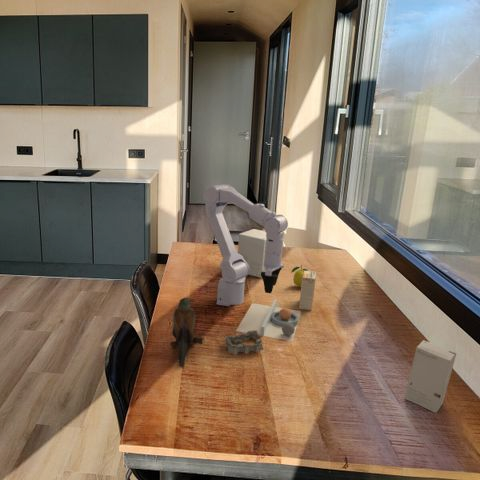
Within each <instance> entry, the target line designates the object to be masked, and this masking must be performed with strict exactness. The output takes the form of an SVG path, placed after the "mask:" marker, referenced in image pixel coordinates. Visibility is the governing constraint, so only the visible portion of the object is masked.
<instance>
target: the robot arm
mask: <svg viewBox="0 0 480 480" xmlns="http://www.w3.org/2000/svg"><path fill="white" fill-rule="evenodd" d="M202 198H203V200H204V204H205V214H206V217H207V219H208V222H209V225H210V226H211V227H210V228H211V229H212V232H213V235H214V238H215V241H216V242H217V245H218V247H219V248H218V249H219V251H220V254H221V256H222V259H221V262H220V263H219V266H220V269H221V276H222V277H221V278H219V281H218V285H217V296H216V297H217V299H216V305H218V306H225V307H230V306H236V305H241V304H243V303H244V298H245V286H246V285H245V284H246V277H247V276H248V275H249V265H248V264H247V263H246V261H245V260H244V258H243V256H242V255H240V254H239V253H238V250H237V249H236V245H235V243H234V241H233V237H232V235H231V233H230V230H229V227H228V225H227V222H226V220H225V217H224V213H223V211H224V209H225V207H226V206H227V205H228V203H231V204H233V205H235V206H237V207H238V208H240V209H242V210H243V211H245V212H247V213H248V217H249V218H250V220H251V219H252V220H253V221H254V222H256V223H257V224H258V225H260V226H262V227H263V229H264V231H265V232H266V248H265V260H264V267H265V269H266V270H265V272H261V277H262V278H261V279H262V281H263V282H262V283H263V287H264V293H265V294H272V292H273V289H274V286H276V285H277V282H278V279H279V278H278V277H279V275H280V273H281V270H282V269H283V268H285V263H284V264H283V263H282V258H283V248H284V238H285V231H286V230H287V228H288V227H289V225H288V224H289V222H288V219H287V218H286V217H285V216H284V215H283V214H276V212H275V211H272V210H270V209H268V208H266V207H265V204H263V203H253V202H252V201H250V200H249V199H248V198H246V196H244V195H242V194H241V193H239V192H238V191H237V190H236V188H235V187H233V186H231V185H230V184H228V183H223V184H218V185H209V186H207V187H206V188H205V190H204V192H203V194H202Z"/></svg>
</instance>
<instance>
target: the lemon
mask: <svg viewBox="0 0 480 480" xmlns="http://www.w3.org/2000/svg"><path fill="white" fill-rule="evenodd" d="M298 269H299V270H298ZM304 271H309V270H308V269H306V268H303V264H301V265H300V266H295V267H293V268H292V270H291V272H290V273H294V272H295V273H294V275H293V279H292V280H293V281H292V282H293V284H294V285H295V286H297V287H298V288H301V285H302V277H303V272H304Z"/></svg>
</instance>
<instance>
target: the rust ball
mask: <svg viewBox="0 0 480 480" xmlns="http://www.w3.org/2000/svg"><path fill="white" fill-rule="evenodd" d="M282 308H283V309H281V310H280V313H279V315H280V318H281V319H283V320H288V319H289V318H290V317H291V311H290V310H289V309H290V308H287V307H282Z"/></svg>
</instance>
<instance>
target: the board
mask: <svg viewBox="0 0 480 480" xmlns="http://www.w3.org/2000/svg"><path fill="white" fill-rule="evenodd" d="M270 308H271V305H266V304H261V303H255V302H254V303H253V302H252V303H251V304H250V307H249V308H248V310H247V311H246V313H245V315H244V316H243V318H242V320H241V321H240V323H239V325H238V326H237V328H236V329H235V332H239V333H247V332H248V331H253V330H254V331H255V330H257V332H258V334H259V337H260V336H261V326H262V324H263V322H264V320H265V318H266V316H267V314H268V312H269V310H270ZM283 308H284V307H279V306H277V307H276V310H275V312H278V311H280V310H281V309H283ZM288 309H289V310H290V311H291V312H292V313H294V314H295V315H297V316H298V317H299V318H298V322H299V320H300V317H301V314H302V311H301V310H295V309H290V308H288ZM297 327H298V324H297V325H296V326H294V328H295V331H294V333H293V334H292V335H290V336H287V335H285V334H284V333H283V332H282V327H281V326H278V325H276V324H274V323H273V322H272V321H270V323H269V325H268V328H267V330H266V332H265V334H264V336H263V337H267V338H272V339H277V340H283V341H288V342H293V341H294V337H295V334H296V330H297ZM261 337H262V336H261Z"/></svg>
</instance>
